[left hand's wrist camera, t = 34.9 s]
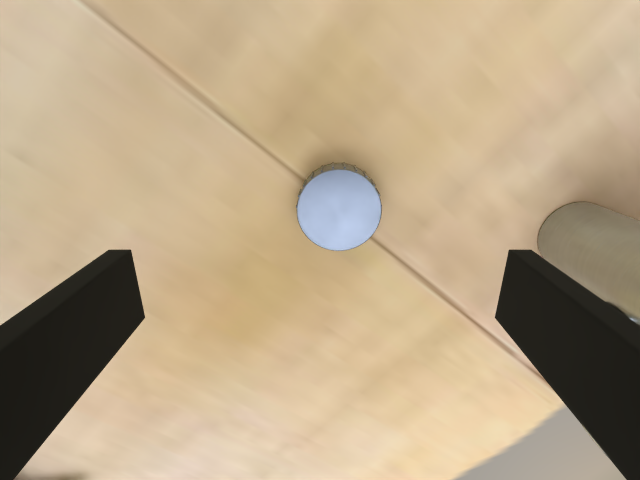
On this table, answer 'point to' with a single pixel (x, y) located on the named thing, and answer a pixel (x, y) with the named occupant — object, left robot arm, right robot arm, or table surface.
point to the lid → (338, 207)
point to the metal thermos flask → (596, 252)
